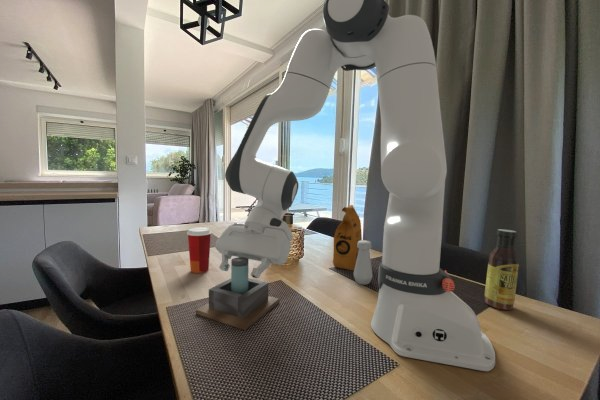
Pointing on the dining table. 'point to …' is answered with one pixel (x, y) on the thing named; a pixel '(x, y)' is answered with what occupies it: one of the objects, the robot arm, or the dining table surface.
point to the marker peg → (239, 275)
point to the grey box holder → (238, 304)
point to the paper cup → (199, 249)
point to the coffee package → (347, 240)
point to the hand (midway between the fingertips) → (238, 273)
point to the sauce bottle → (502, 272)
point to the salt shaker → (363, 263)
